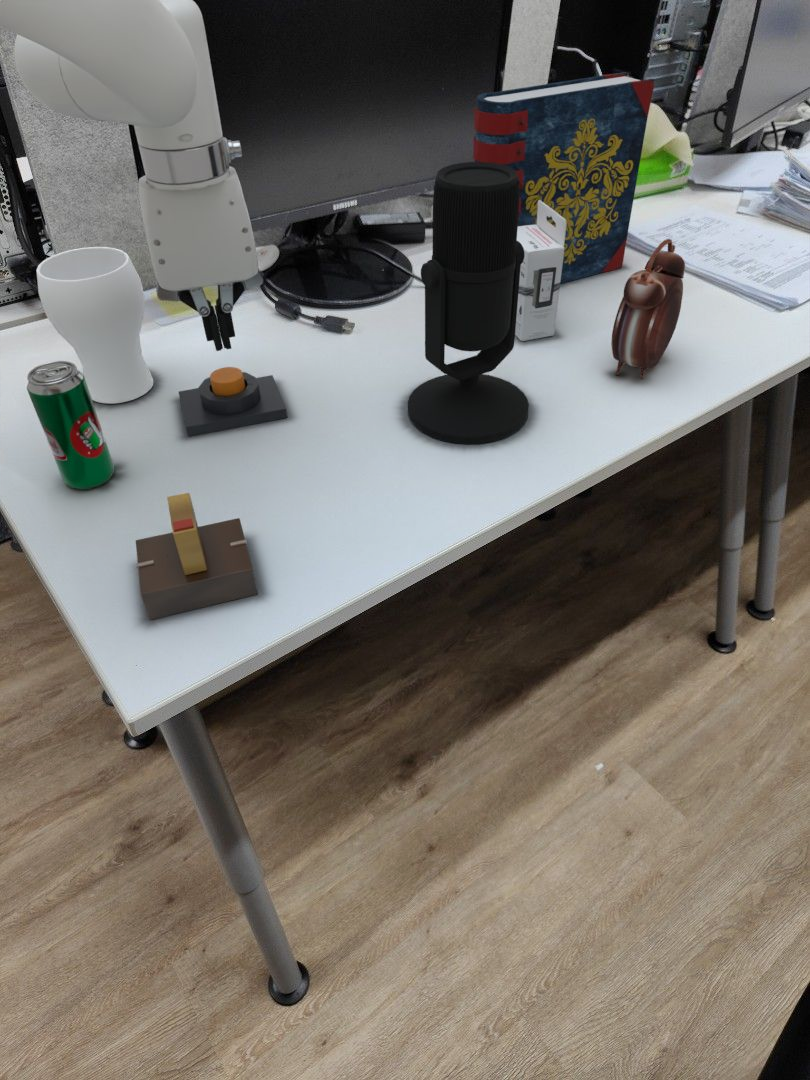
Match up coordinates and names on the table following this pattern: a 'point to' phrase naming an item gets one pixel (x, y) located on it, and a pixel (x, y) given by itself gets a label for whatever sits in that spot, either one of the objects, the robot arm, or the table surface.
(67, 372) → the soda can
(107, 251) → the cup
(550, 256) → the ink box
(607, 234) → the book
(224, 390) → the bell button
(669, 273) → the alarm clock
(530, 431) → the table surface
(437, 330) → the microphone
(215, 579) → the plate
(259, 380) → the block
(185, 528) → the lock knob
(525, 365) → the table surface
